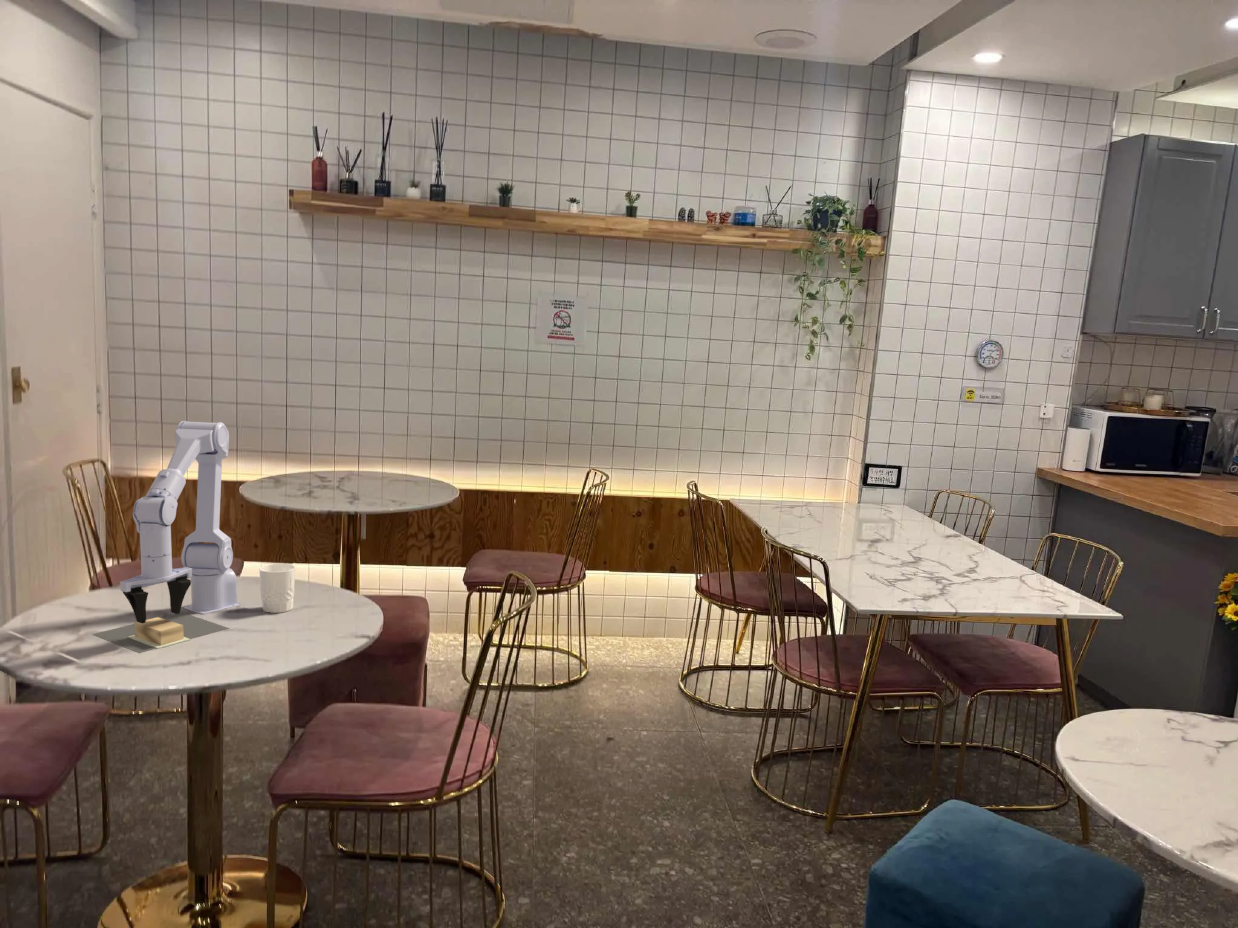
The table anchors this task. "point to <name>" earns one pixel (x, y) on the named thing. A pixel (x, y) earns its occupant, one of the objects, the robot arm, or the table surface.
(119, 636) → the rubber mat
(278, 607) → the white cup
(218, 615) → the table surface
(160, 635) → the oak block
